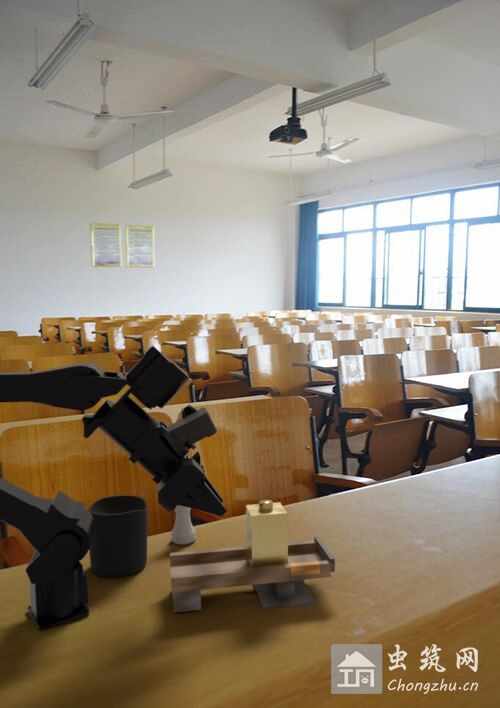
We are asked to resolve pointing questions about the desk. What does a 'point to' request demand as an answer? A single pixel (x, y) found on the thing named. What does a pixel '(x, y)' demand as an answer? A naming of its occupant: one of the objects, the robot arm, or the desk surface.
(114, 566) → the pen holder
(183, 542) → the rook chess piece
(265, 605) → the balance beam
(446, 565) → the desk surface
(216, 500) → the robot arm
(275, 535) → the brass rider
